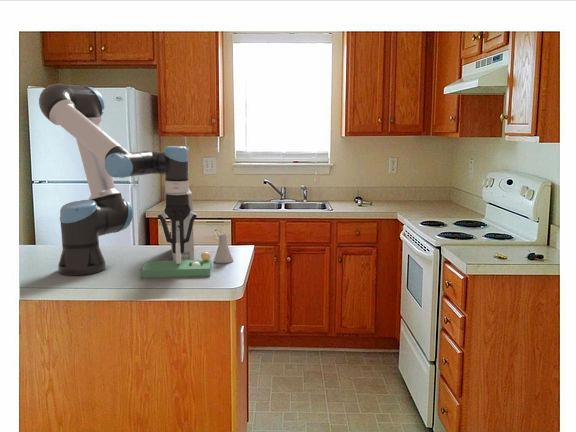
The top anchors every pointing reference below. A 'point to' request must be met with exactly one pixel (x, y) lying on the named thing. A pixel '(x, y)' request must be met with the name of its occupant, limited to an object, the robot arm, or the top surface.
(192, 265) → the ball
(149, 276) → the green
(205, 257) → the orange ball
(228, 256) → the flask
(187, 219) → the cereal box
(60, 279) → the top surface
